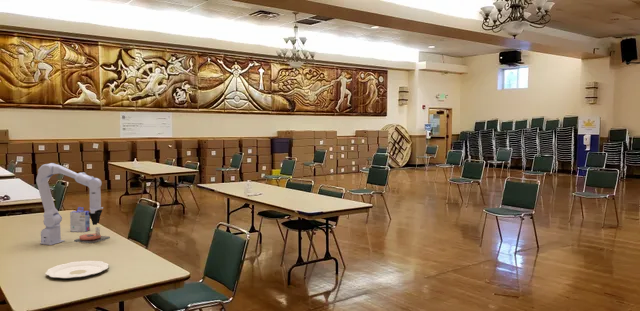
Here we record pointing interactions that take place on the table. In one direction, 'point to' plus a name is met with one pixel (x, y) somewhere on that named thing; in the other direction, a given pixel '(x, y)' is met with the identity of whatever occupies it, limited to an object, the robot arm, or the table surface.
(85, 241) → the bench plate
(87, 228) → the ink cartridge box
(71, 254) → the table surface
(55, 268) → the plate
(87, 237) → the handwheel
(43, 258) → the table surface
